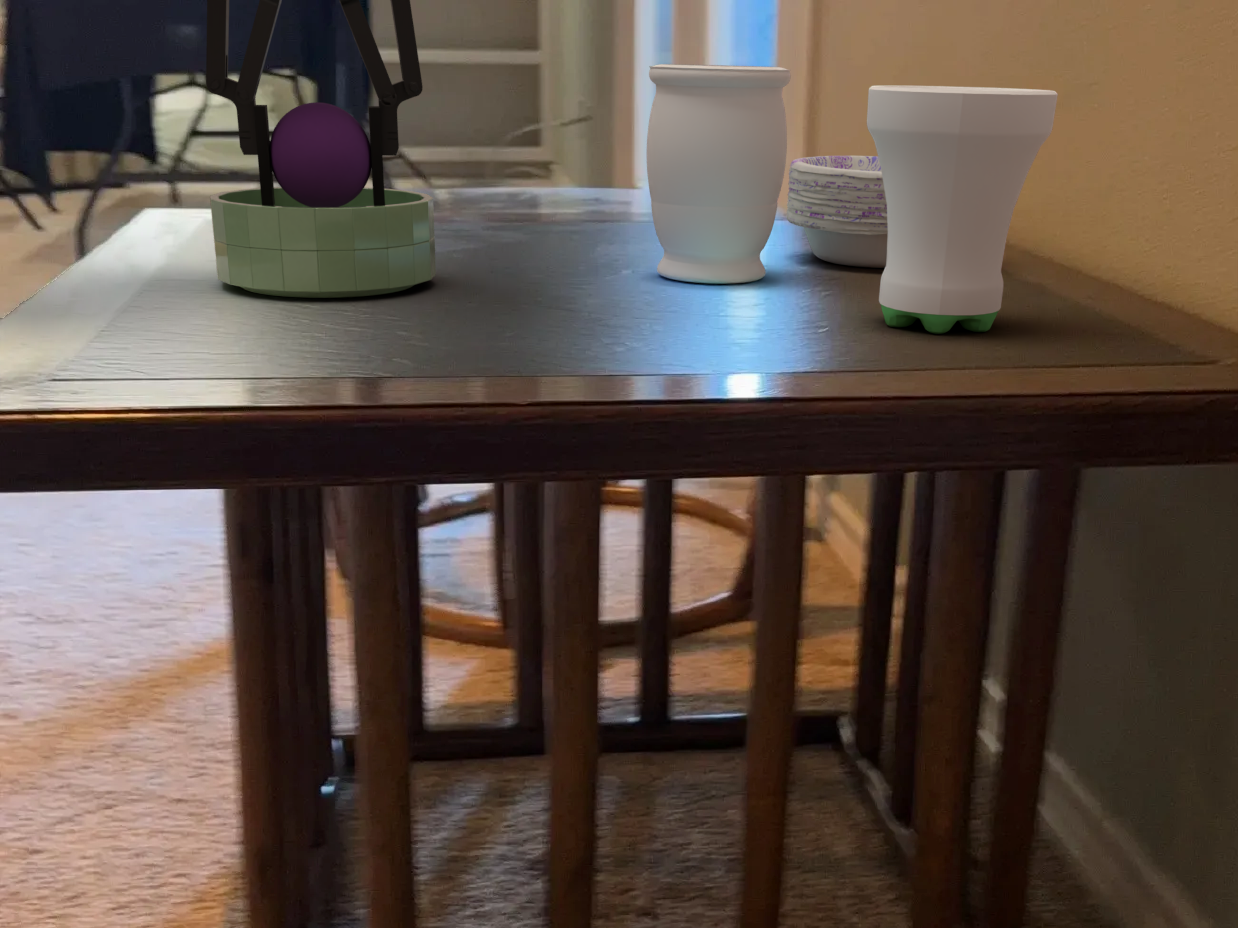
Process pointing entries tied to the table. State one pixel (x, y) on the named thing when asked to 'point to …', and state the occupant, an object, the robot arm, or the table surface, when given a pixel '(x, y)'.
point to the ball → (320, 155)
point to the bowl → (323, 244)
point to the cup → (951, 195)
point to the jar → (715, 168)
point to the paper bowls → (840, 208)
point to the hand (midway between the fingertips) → (324, 204)
